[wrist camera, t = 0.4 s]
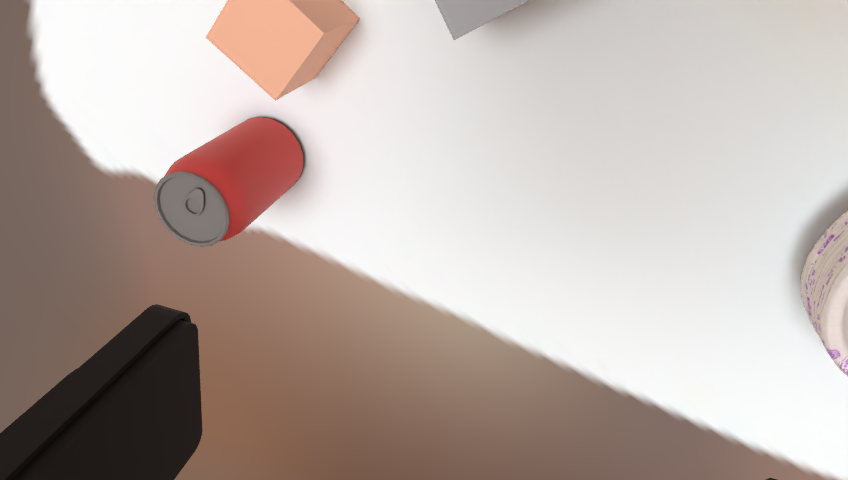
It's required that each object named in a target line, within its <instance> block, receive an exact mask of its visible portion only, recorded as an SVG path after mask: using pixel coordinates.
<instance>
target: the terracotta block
mask: <svg viewBox="0 0 848 480" xmlns="http://www.w3.org/2000/svg"><path fill="white" fill-rule="evenodd" d="M359 19H360V18H359V17H358V16H357V15H356V14H355V13H354V12H353V11H351V10H350V9H349V8H348V7H347V6H346V5H345V4H344V3H343V2H342V1H341V0H228V1H227V3H226V4H225V6H224V8H223V10H222V11H221V13H220V15H219V16H218V18H217V20H216V21H215V23H214V25H213V26H212V28H211V30H210V31H209V33H208V35H207V36H206V38H207V39H208V40H209V41H210V42H211V43H213V44H214V45H215V46H216V47H217V48H218V49H219V50H220V51H221V52H223V53H224V54H225V55H226V56H227V57H228V58H229V59H230V60H231V61H232V62H234V63H235V64H236V65H237V66H238V67H239V68H240V69H241V70H242V71H243V72H245V73H246V74H247V75H248V76H249V77H250V78H251V79H252V80H253V81H255V82H256V83H257V84H258V85H259V86H260V87H261V88H262V89H263V90H264V91H266V92H267V93H268V94H269V95H270V96H271V97H272V98H273V99H274V100H277V99H279V98H281V97H282V96H284V95H286V94H288V93H289V92H291V91H293V90H295V89H296V88H298V87H300V86H302V85H303V84H305V83H307V82H309V81H311V80H312V79H314V78H315V77H316V76H317V75H318V73H319V72H320V71H321V69H322V68H323V67H324V65H325V64H326V63H327V61H328V60H329V59H330V57H331V56H332V55H333V54H334V52H335V51H336V50H337V48H338V47H339V46H340V44H341V43H342V42H343V40H344V39H345V38H346V36H347V35H348V34H349V32H350V31H351V30H352V28H353V27H354V26H355V24H356V23H357V22H358V20H359Z"/></svg>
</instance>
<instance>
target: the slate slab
mask: <svg viewBox="0 0 848 480" xmlns="http://www.w3.org/2000/svg"><path fill="white" fill-rule="evenodd" d="M527 1H529V0H435V2H436V4H437V6H438V8H439V10H440V12H441V14H442V16H443V18H444V21H445V23H446V25H447V27H448V29H449V31H450V33H451V35H452V37H453V39H454V40H455V39H457V38H459V37H461V36H463V35H465V34H467V33H469V32H471V31H472V30H474V29H476V28H478V27H480V26H482V25H484V24H486V23H487V22H489V21H491V20H493V19H495V18H497V17H499V16H501V15H503V14H504V13H506V12H508V11H510V10H512V9H514V8H516V7H518V6H519V5H521V4H523V3H525V2H527Z"/></svg>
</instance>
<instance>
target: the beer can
mask: <svg viewBox="0 0 848 480" xmlns="http://www.w3.org/2000/svg"><path fill="white" fill-rule="evenodd" d="M302 170H303V153H302V150H301V147H300V144H299V142H298V141H297V139H296V138H295V136H294V134H293V133H292V132H291V131H290V130H289V129H288V128H286V127H285V126H284V125H283V124H281V123H279V122H277V121H275V120H273V119H269V118H263V117H256V118H251V119H248V120H246V121H244V122H243V123H241V124H239V125H237V126H236V127H234V128H232V129H230V130H229V131H227V132H225V133H223V134H222V135H220V136H218V137H216V138H215V139H213V140H211V141H209V142H208V143H206V144H204V145H202V146H201V147H199V148H197V149H196V150H194V151H192V152H190V153H189V154H187V155H185V156H183V157H182V158H180V159H179V160H177V161H176V162H174V164H173V165H172V166H171V167H170V168H169V170H168V172H167V173H166V175H165V176H164V177H163V178H162V179H161V180H160V181H159V183H158V184H157V186H156V188H155V194H154V201H155V208H156V211H157V213H158V215H159V217H160V220H161V221H162V223H163V224H164V225H165V226H166V228H167V229H168V230H169V231H170V232H171V233H172V234H174V235H175V236H176V237H177V238H178V239H180V240H182V241H184V242H186V243H188V244H191V245H196V246H211V245H213V244H215V243H217V242H219V241H223V240H226V239H229V238H231V237H233V236H235V235H237V234H239V233H240V232H242V231H243V230H244V229H245V228H246V227H247V226H248V225H250V224H251V223H252V222H253V221H254V220H255V219H256V218H257V217H258V216H260V215H261V214H262V213H263V212H264V211H265V210H266V209H267V208H268V207H270V206H271V205H272V204H273V203H274V202H275V201H276V200H277V199H278V198H280V197H281V196H282V195H283V194H284V193H285V192H286V191H287V190H289V189H290V188H291V187H292V186H293V185H294V184H295V183H296V181H297V180H298V179H299V178H300V176H301V173H302Z"/></svg>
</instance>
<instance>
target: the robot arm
mask: <svg viewBox="0 0 848 480" xmlns="http://www.w3.org/2000/svg"><path fill="white" fill-rule="evenodd" d="M201 435H202V415H201V391H200V370H199V347H198V329H197V326H196V325H195V324H193V323H191V319H190V316H189V315H188V313H185V312H182V311H178V310H174V309H171V308H167V307H164V306H161V305H152V306H150V307H149V308H147V309H146V310H145V311H144V312H143V313H141V315H139V316H138V317H137V318H136V319H135V320H133V321H132V322H131V323H130V324H129V325H128V326H127V327H125V328H124V329H123V330H122V331H121V332H120V333H118V334H117V335H116V336H115V337H114V338H113V339H112V340H110V341H109V342H108V343H107V344H106V345H105V346H104V347H102V348H101V349H100V350H99V351H98V352H97V353H95V354H94V355H93V356H92V357H91V358H90V359H89V360H87V361H86V362H85V363H84V364H83V365H82V366H80V367H79V368H78V369H76V370H74V371H73V372H72V373H70V374H69V375H67V376H66V377H65V378H64V379H63V380H62V381H60V382H59V383H58V384H57V385H56V386H55V387H54V388H52V389H51V390H50V391H49V392H48V393H47V394H45V395H44V396H43V397H42V398H41V399H40V400H38V401H37V402H36V403H35V404H34V405H33V406H32V407H30V408H29V409H28V410H27V411H26V412H25V413H23V414H22V415H21V416H20V417H19V418H18V419H16V420H15V421H14V422H13V423H12V424H11V425H10V426H8V427H7V428H6V429H5V430H4V431H3V432H1V433H0V480H174V479H175V478H176V476H177V475H178V474H179V472H180V471H181V469H182V468H183V467H184V465H185V464H186V463H187V461H188V460H189V458H190V457H191V456H192V454H193V453H194V452H195V450H196V448H197V446H198V444H199V442H200V439H201ZM767 480H776V479H772V478H769V479H767Z"/></svg>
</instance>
